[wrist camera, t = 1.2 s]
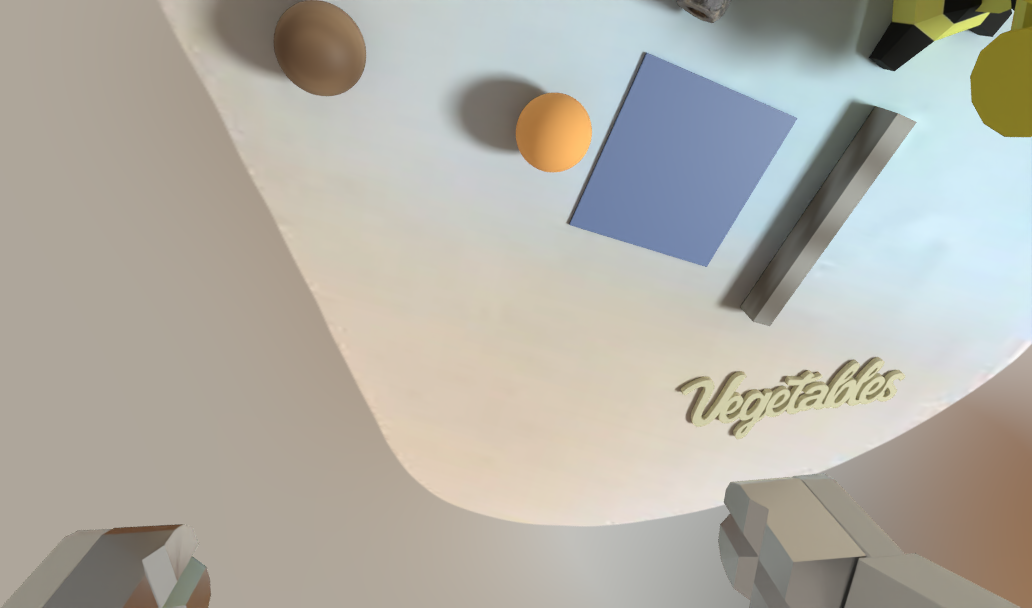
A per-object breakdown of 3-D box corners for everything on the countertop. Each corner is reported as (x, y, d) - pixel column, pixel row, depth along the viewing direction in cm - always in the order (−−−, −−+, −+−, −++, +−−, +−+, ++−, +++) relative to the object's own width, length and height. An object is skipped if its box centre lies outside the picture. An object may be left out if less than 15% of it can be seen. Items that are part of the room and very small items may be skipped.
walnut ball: (291, -17, 34) (270, -14, 29) (378, 17, 35) (370, 25, 31) (279, 70, 36) (257, 86, 32) (360, 98, 38) (350, 116, 33)
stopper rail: (875, 106, 43) (898, 113, 41) (893, 114, 44) (916, 122, 42) (740, 307, 52) (753, 321, 50) (756, 311, 53) (769, 326, 51)
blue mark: (646, 52, 39) (647, 53, 38) (796, 117, 43) (797, 118, 43) (569, 224, 45) (569, 224, 45) (705, 265, 49) (706, 266, 49)
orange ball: (526, 74, 38) (539, 89, 34) (593, 100, 40) (614, 118, 35) (501, 146, 41) (509, 169, 36) (564, 168, 42) (580, 192, 38)
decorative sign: (673, 448, 62) (684, 382, 56) (670, 442, 62) (680, 376, 57) (886, 418, 64) (916, 352, 58) (880, 412, 65) (909, 346, 59)
